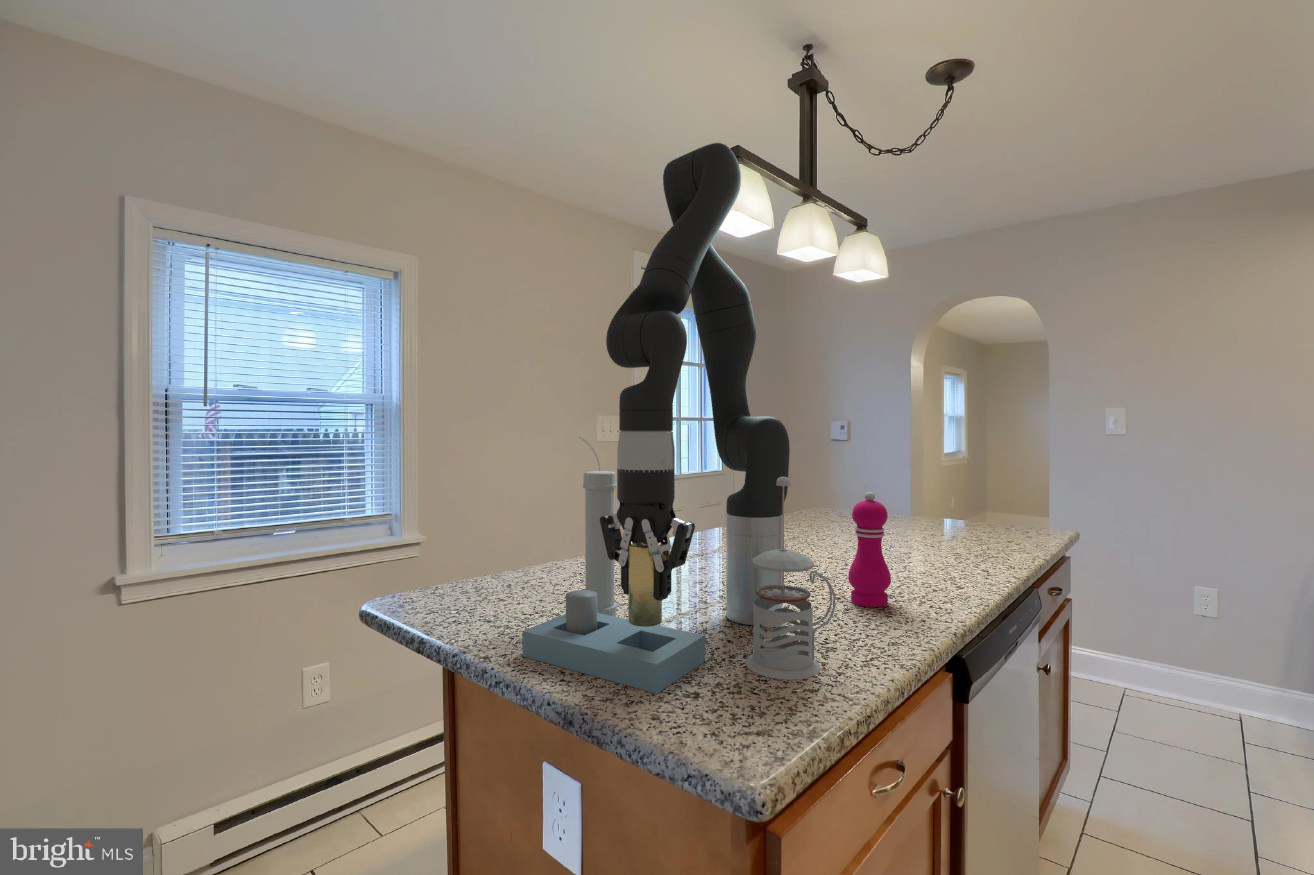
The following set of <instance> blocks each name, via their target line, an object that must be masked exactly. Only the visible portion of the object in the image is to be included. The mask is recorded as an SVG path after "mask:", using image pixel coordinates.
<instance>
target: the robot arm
mask: <svg viewBox="0 0 1314 875" xmlns="http://www.w3.org/2000/svg"><path fill="white" fill-rule="evenodd" d="M662 184H663V185H662V186H663V193H664V196H665V201H666V206H667V209H668V213H669V215H670V219H671V223H672V226H671V227H670V229H669V230H667V231H666V232H665V234H664V235H663V236H662V238H661V239H660V240H659V242H658V243H657V244H656V246H655V247H654V249H653V250H652V252H651V254H650V256H649V259H648V261H647V262H646V266H645V268H644V271H643V274H642V276H641V279H640V282H639V284H638V285H637V286H636V288H634V289H633V291H632V292H631V293H630V294H629V296H628V297H627V298H626V299H625V301H624V302H623V303H622V304H621V306H620V307H619V308H618V310H617V311H616V313H615V314H614V315H613V316H612V319H611V320H610V323H609V324H608V328H607V331H606V338H605V340H606V342H605V343H606V344H605V345H606V350H607V353H608V355H609V358H610V360H611V361H612V362H613V363H614V364H616V365H617V366H618V367H620V368H626V369H627V368H628V369H636V368H639V369H640V368H648V369H647V372H646V375H645V377H644V378H643V380H642V381H640V382H638V383H637V384H633V385H632V384H631V385H630V386H627V387H625V388H623V389H622V390H621V392H620V393H619V394H620V395H619V400H618V401H619V404H618V405H619V406H618V408H619V409H618V410H619V413H618V414H619V416H618V417H619V420H618V421H619V423H618V424H619V425H618V426H619V427H618V428H619V429H618V431H619V433H618V442H617V446H616V448H617V451H616V452H617V453H616V454H617V455H616V458H617V459H616V463H617V464H616V466H617V467H616V469H617V470H616V484H617V488H616V499H617V501H618V502H619V507H618V509H617V511H616V513H614V514H610V515H605V516H602V517H601V518H600V524H601V529H602V533H603V537H604V542H605V546H606V550H607V555H608V558H609V559H610V560H614V562H615V561H616V562H617V563H618V565H619V566H620V587H621V589H622V592H623V594H624V595H627V596H628V580H629V545H631V544H633V543H644V544H646V545H648V548H649V552H650V554H651V555H653V559H654V563H655V567H656V570H657V571H656V572H655V599H656V600H659V601H662V602H663V601H664V600H666V599H668V597H669V595H671V592H672V572H673V569H675V568H679V567H681V566H684V565H685V564H686V561H687V558H688V553H689V550H690V547H691V543H692V539H693V536H694V532H695V528H696V525H695V522H693V521H684V520H682V519H679V518H677V515H676V512H675V511H674V502H675V492H676V491H675V484H676V483H675V481H676V480H675V479H676V478H675V475H676V474H675V471H676V469H675V468H676V466H675V462H676V461H675V456H676V455H675V452H676V450H675V442H674V440H675V439H674V432H673V430H674V424H673V423H674V404H673V403H674V397H675V394H676V390H677V386H678V381H679V377H680V373H681V369H682V366H683V363H684V360H685V356H686V352H687V345H688V335H687V330H686V327H685V324H684V322H683V319H681V317H680V316H679V314H681V313H682V312H683V311H684V309H685V308H686V306H687V303H688V301H689V299H690V298H691V301H692V302H691V303H692V307H693V308H692V309H693V314H694V320H695V323H696V328H697V332H698V337H699V341H700V346H701V349H702V354H703V360H704V364H705V370H706V376H707V382H708V387H709V394H710V401H711V403H710V404H711V412H712V421H713V432H714V438H715V439H714V440H715V445H716V450H717V454H718V456H719V458H720V461H721V462H722V464H724V466H725V467H726V468H728V469H730V470H732V471H737V472H743V473H745V474H744V475H745V477H744V484H743V487H741V489H739V490H738V491H737V492H734V493H732V494H730V495H728V496H727V498H726V508H725V509H726V516H725V517H726V521H725V522H726V527H725V528H726V529H725V530H726V545H725V546H726V549H725V550H726V566H725V567H726V571H725V572H726V575H725V576H726V577H725V578H726V579H725V581H726V583H725V584H726V587H725V588H726V589H725V590H726V594H725V596H726V598H725V599H726V600H725V602H726V604H725V605H726V606H725V607H726V608H725V609H726V613H725V617H727V619H729V621H732V622H734V623H737V624H741V625H748V626H750V625H751V626H754V600H756V599H757V598H759V596H758V595H757V594H756V590H757V589H758V588H759V587H763V586H765V587H766V585H767V586H768V585H769V586H770V585H775V586H777V585H781V586H782V572H775V571H769V570H764V569H760V568H757V567H756V566H754V564H753V563H752V561H753V558H755V557H757V556H758V555H760V554H761V553H764V552H767V551H770V550H777V549H781V548H782V538H783V487H782V486H777V485H776V482H777V479H778V478H779V477H787V478H788V479H789V472H790V471H789V470H790V469H789V468H790V452H791V449H790V439H789V438H790V437H789V433H788V431H787V429H786V426H785V424H783V422H782V421H781V420H780V419H778V418H776V417H774V416H752V415H751V412H750V408H749V404H748V403H749V402H748V398H747V375H748V371H749V368H750V364H751V361H752V359H753V358H752V357H753V354H754V350H755V346H756V340H757V326H756V320H755V315H754V311H753V306H752V300H751V296H750V292H749V290H748V288H747V287H746V286H745V284H744V282H743V281H742V280H741V278H740V277H739V276H738V275H737V274H736V273H735V271H733V269H732V268H731V267H730V266H729V265H728V264H727V263H726V261H724V259H723V258H722V257H721V256H720V255H719V254H718V252H717V250H716V248H715V247H714V246H713V244H712V242H713V240H714V239H715V237H716V235H717V234H718V233H719V231H720V229H721V227H722V226H723V223H724V221H725V219H726V218H727V216H728V215H729V213H730V211H731V210H732V209H733V206H734V205H735V203H736V201H737V199H738V197H739V194H740V191H741V186H742V172H741V167H740V164H739V161H738V159H737V157H736V156H735V153H734V152H733V150H732V149H731V148H730V147H729V146H728V145H727V144H724V143H722V142H713V143H709V144H706V145H703V146H700V147H699V148H696V149H694V150H692V151H690V152H687V153H685V154H683V155H680V156H679V157H676V158H674V159H672V160H670V161H669V162H668V163H667V164H666V166H665V167H664V170H663V174H662ZM788 488H789V486H785V487H784V502H785V501H786V498H787V496H788ZM621 528H622V530H623V533H622V531H621ZM671 529H672V532H671V533H672V536H673V537H674V538H673V542H672V543H671V540H670V535H669V532H670V531H671ZM658 543H660V545H661V546H659V545H658ZM783 605H784V603H782V604H776V605H775V606H773V607H771V608H770V609H768V610H771V611H774V610H776V609H779V608H784V607H783ZM760 626H763V625H762V624H760Z"/></svg>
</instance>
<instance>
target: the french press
mask: <svg viewBox="0 0 1314 875" xmlns="http://www.w3.org/2000/svg"><path fill="white" fill-rule="evenodd" d="M776 485H777V486H782V487H783V538H782V548H781V549H777V550H770V551H767V552H764V553H761V554H760V555H758V556H757V557H755V558H753V561H752V563H753V564H754V566H756V567H757V568H760V569H764V570H769V571H775V572H782V586H781V585H777V586H775V585H770V586H769V585H768V586H767V585H766V587H765V586H763V587H759V588H758V589H757V590H756V594H757V595H758V596H759V598H757V599H756V600H754V625H753V653H752V654H750V655H749V656H748V657H746V660H745V665H746V667H747V668H748V669H749V671H751V672H754V673H755V674H758V675H760V676H764V677H768V678H771V679H776V680H777V679H778V680H787V681H789V680H790V681H792V680H804V679H808V678H811V677H814V676H816V675H817V674H819V673H820V672H821V664H820V663H819V662H818V661H817V660H816V659H815V632H816V631H817V630H819V629H821V628H823V627H825V626H826V625H827V624H828V623H829V622H830V621H831V619H832V618H833V615H835V614H834V613H835V611H836V610H835V609H836V593H835V590H834V588H833V586H832V584H831V583H830V581H829V580H828V579H827V578H825V576H823V575H822V574H821V573H819V572H818V571H816V570H812V569H813V567H814V566H815V561H814V560H812V559H811V558H810V557H808V556H807V555H805V554H803V553H800V552H797V551H796V550H792V549H787V548H785V501H784V487H785V486H788V487H789V486H791V480H790V479H789V477H788V478H787V477H779V478H778V479H777V482H776ZM805 571H810V572H809V581H810V583H811V584H812V585H813V584H815V579H816V578H815V577H818V578H821V579H823V581H825V583H826V585H827V588H828V591H829V600H830V601H829V602H830V603H829V605H828V609H827V611H826V613H825V615H824V616H823V617H821V619H820V620H818V621H815V622H814V621H813V620H814V618H813V613H814V612H813V610H814V606H813V605H812V602H810V601H809V600H808V599H810V598H811V592H810V591H809V590H808V589H806V588H803V587H799V586H795V585H794V586H792V585H788V584H787V585H785V573H799V572H800V573H801V572H805ZM782 603H783V604H787V605H791V606H794V607H795V608H796V609H798V610H799V611H797V610H794V609H792V608H788V607H783V608H779V609H776V610H774V611H771V610H768V609H770V608H771V607H773V606H775V605H776V604H782ZM831 608H832V610H831ZM830 611H831V613H830ZM829 613H830V615H829ZM828 615H829V618H828ZM826 618H828V619H827V620H826V621H825V622H824V623H823V624H821V625H818V624H820V623H822V622H823V621H824V620H825V619H826ZM787 623H789V624H792V626H791V625H790V626H787V625H783V624H787ZM760 624H762V625H760ZM781 625H782V626H781ZM816 625H818V626H816ZM815 626H816V627H815ZM770 628H773V629H771V630H769V631H766V630H767V629H770ZM788 633H791V634H794V635H791V636H789V635H787V634H788ZM767 638H770V640H767V641H765V639H767Z"/></svg>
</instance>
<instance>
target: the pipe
mask: <svg viewBox="0 0 1314 875" xmlns="http://www.w3.org/2000/svg"><path fill="white" fill-rule="evenodd" d="M578 438H579V439H581V440H582V441H583V442H585V443H586V444H587V445H588V447H590V448H591V450H592V452H593V453H594V456H595V458H596V461H597V465H598V470H591V471H585V472H583V484H582V489H585V490H584V491H585V492H584V496H585V501H584V503H585V504H584V508H585V510H584V511H585V512H584V513H585V515H584V517H585V518H584V519H585V520H584V522H585V523H584V524H585V526H584V527H585V532H584V533H585V536H584V537H585V542H584V543H585V544H584V545H585V547H584V548H585V590H590V591H594V592H596V593H597V613H600V614H605V615H610V616H615V617H617V609H618V603H617V602H615V560H610V559H609V558H608V555H607V550H606V546H605V542H604V537H603V533H602V529H601V524H600V518H601V517H602V516H605V515H610V514H615V489H617V472H615V471H611V470H610V471H609V470H601V466H600V461H599V458H598V455H597V453H596V452H595V449H594V448H593V447H592V446H591V444H590V443H589V442H588V441H587V440H586V439H584V438H582V437H581V436H579V437H578Z"/></svg>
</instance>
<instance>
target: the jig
mask: <svg viewBox="0 0 1314 875" xmlns="http://www.w3.org/2000/svg"><path fill="white" fill-rule="evenodd" d="M522 657H524V658H527V657H528V659H532V660H534V659H535V660H534V661H538V662H542V663H546V664H549V665H552V666H556V667H561V668H563V669H568V670H570V671H575V672H577V673H582V674H585V675H589V676H592V677H595V678H599V679H603V680H606V681H610V682H613V683H618V684H621V685H625V686H628V687H631V688H635V689H638V690H642V691H646V692H650V693H654V694H657V695H658V694H659V693H661V692H662V691H664V690H665V689H667V688H668V687H669V686H671V685H672V684H674V683H675V682H677V681H678V680H680V679H681V678H683V677H684V676H685V675H687V674H689V673H690V672H691V671H693V670H695V668H697V667H698V666H700V665H702V664H703V663H704V662H706V634H701V633H695V632H692V631H686V630H683V629H676V628H673V627H667V626H662V625H656V626H649V627H641V626H635V625H632V624H630V623H629V622H628V618H624V617H619V616H616V617H615V616H610V615H605V614H600V613H597V593H596V592H594V591H590V590H586V589H576V590H572V591H569V592H566V593H565V614H563V615H559V616H558V617H555V618H552V619H549V620H548V621H545V622H542V623H538V624H537V625H535V626H532V627H529V628H527V629H524V630H522Z"/></svg>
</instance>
